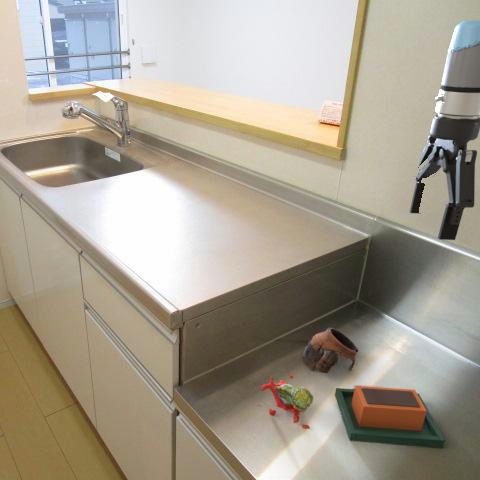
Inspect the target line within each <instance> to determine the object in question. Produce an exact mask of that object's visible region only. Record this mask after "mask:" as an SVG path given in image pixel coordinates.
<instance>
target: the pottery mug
mask: <svg viewBox="0 0 480 480" xmlns="http://www.w3.org/2000/svg"><path fill="white" fill-rule="evenodd" d="M320 351H321V352H320ZM358 353H359V349H358V347H357V346H356V344H355V343H354V342H353V341H352V340H351V339H350V338H349V337H348V336H346V335H345V334H344V333H343V332H342V331H340V330H339V329H336V328H334V327H327V329H326V330H323V331H321V332H318V333H316V334H315V335H314V336H312V339H310V340H309V342H308V344H307V346H306V347H305V348H304V352H303V353H302V361H303V362H304V364H305V365H306V367H307V368H308V369H309V370H310V371H313V370H314V369H315V368H316V370H317V371H318V372H319V373H321V374H322V373H323V374H328V373H329V372H330V371H331V369H332V368H333V367H334V366H335V365H336V364H337V363H338V360H339V357H342V358H344V359H347V360H350V361H351V364H350V365H349V367H348V369H349V370H350V371H352V370H353V369H354V366H355V365H356V359H357V358H356V355H358Z"/></svg>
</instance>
